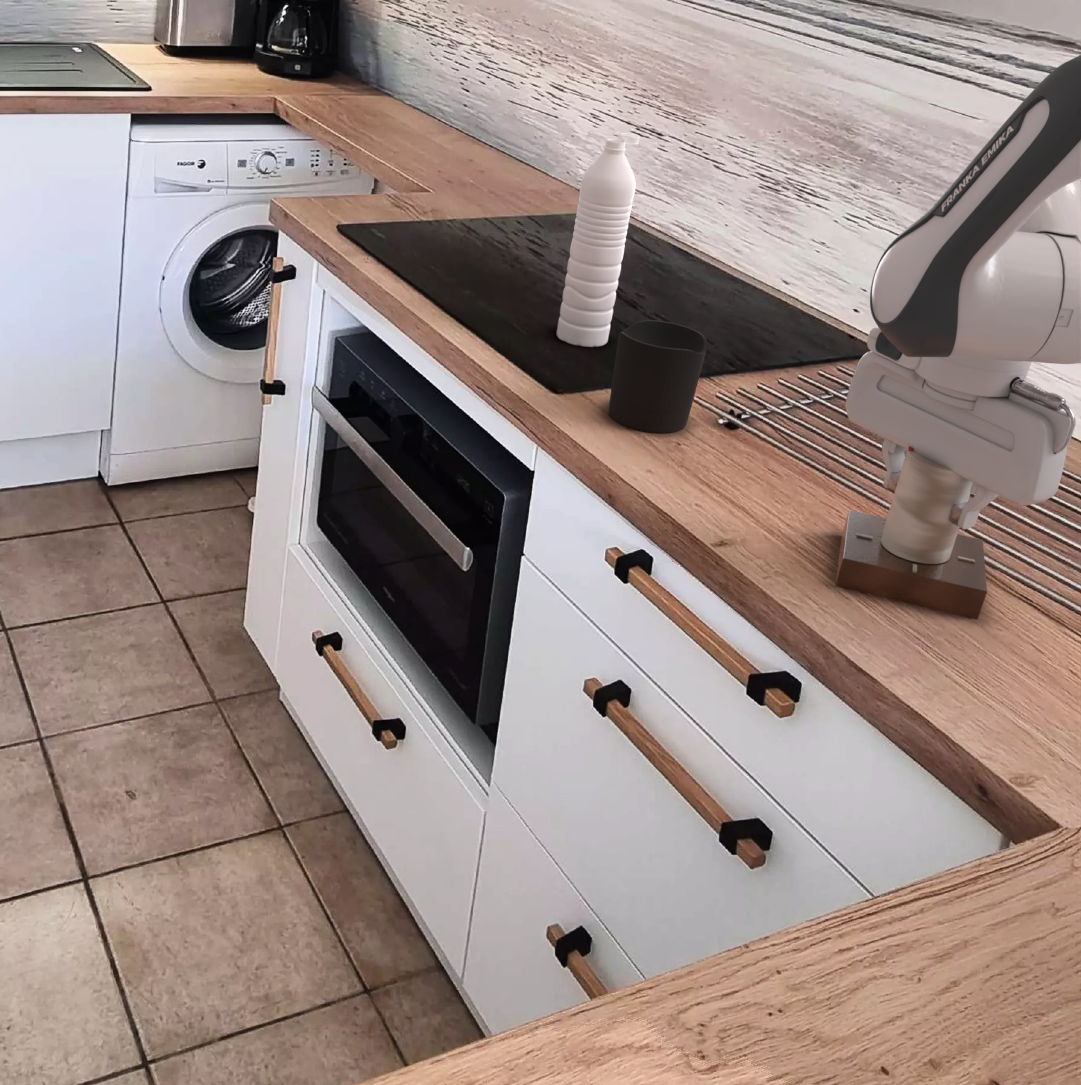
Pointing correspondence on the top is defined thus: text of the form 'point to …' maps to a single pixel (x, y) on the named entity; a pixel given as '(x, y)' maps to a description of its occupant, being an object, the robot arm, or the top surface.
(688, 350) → the pen holder
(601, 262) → the water bottle
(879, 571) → the roll stand
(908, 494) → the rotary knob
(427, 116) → the top surface
